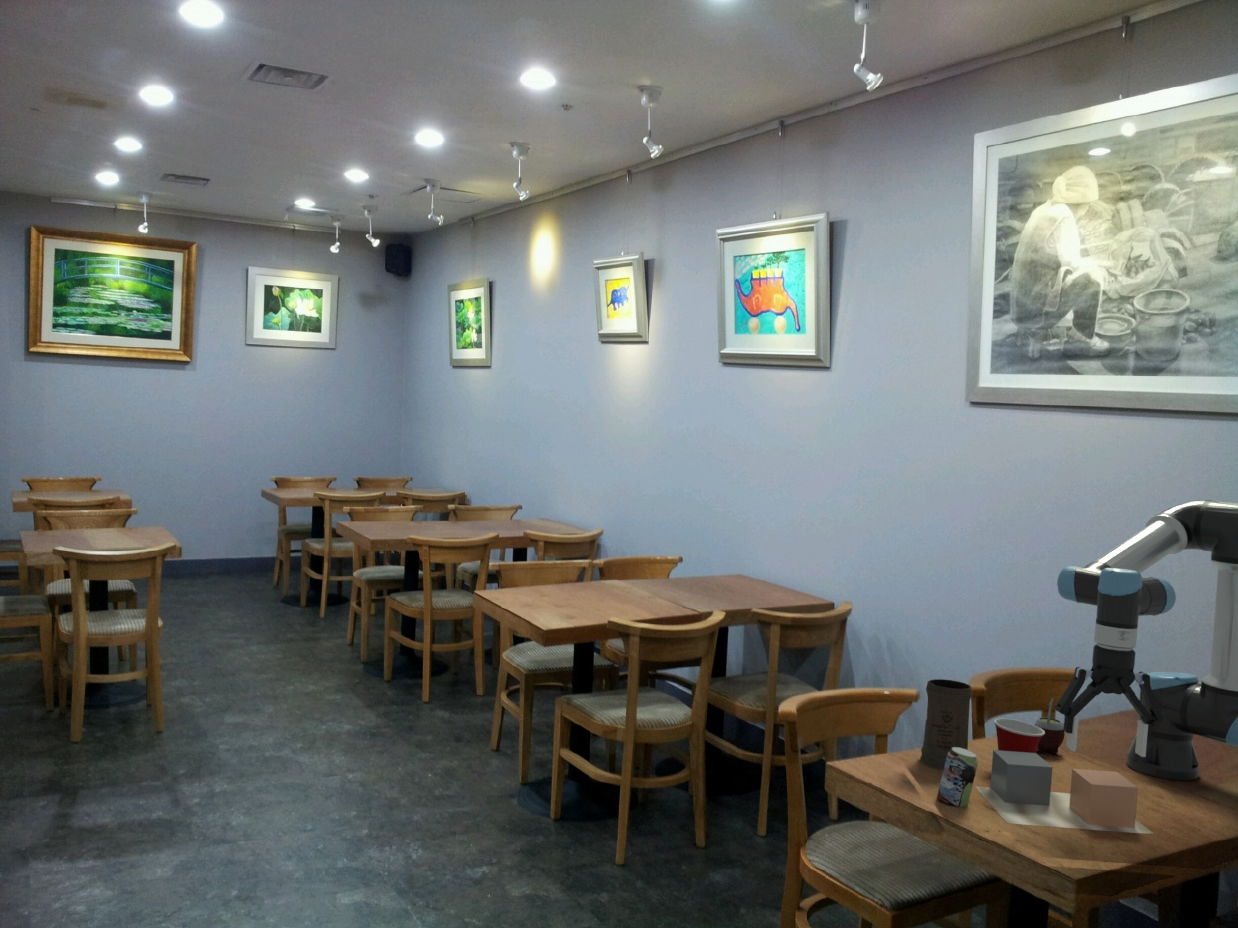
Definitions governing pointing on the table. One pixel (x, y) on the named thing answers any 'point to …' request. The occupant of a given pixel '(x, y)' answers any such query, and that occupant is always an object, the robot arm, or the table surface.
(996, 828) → the table surface
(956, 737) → the beer stein
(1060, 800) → the cream cloth mat
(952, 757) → the beverage can
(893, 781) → the table surface
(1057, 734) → the mate gourd
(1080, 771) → the salmon pink cube
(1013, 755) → the gray cube
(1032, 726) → the plastic cup
